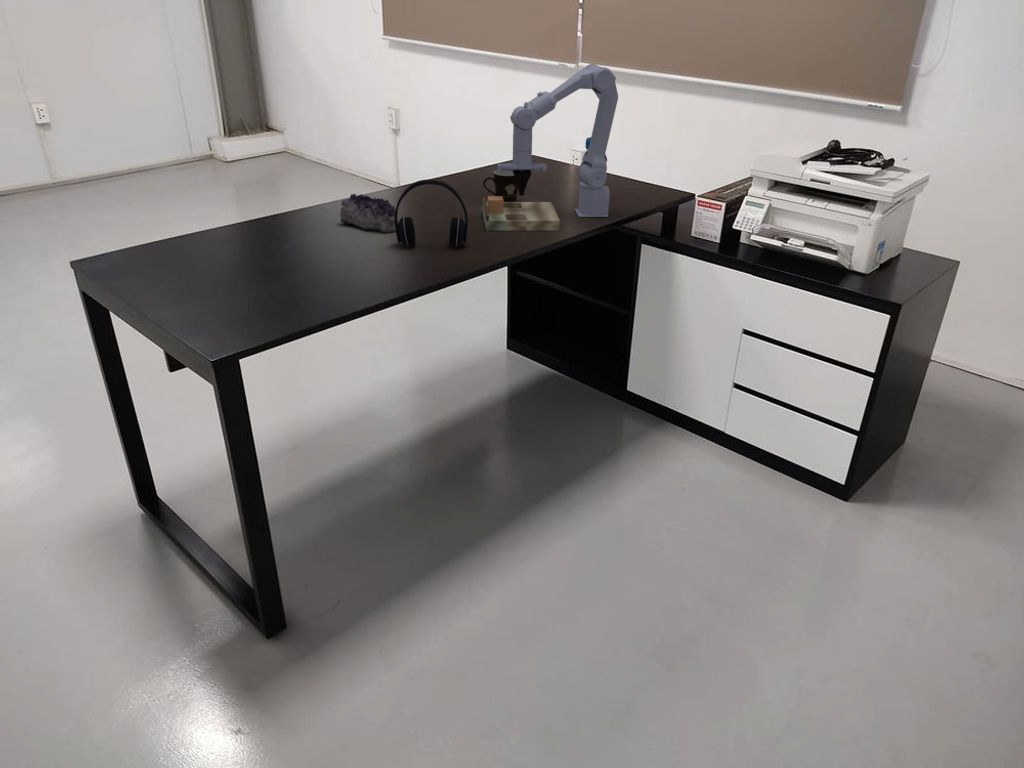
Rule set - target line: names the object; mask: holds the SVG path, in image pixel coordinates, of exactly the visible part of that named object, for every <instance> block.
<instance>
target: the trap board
mask: <svg viewBox="0 0 1024 768" xmlns="http://www.w3.org/2000/svg"><path fill="white" fill-rule="evenodd" d="M482 216H483V222H484V225H485V226H484V227H485V231H486V232H488V231H489V232H495V231H496V232H498V231H499V232H500V231H501V232H503V231H505V232H506V231H507V232H508V231H509V232H511V231H512V232H513V231H514V232H516V231H518V232H519V231H521V232H522V231H523V232H524V231H525V232H526V231H529V232H530V231H536V232H537V231H538V232H539V231H542V232H543V231H544V232H545V231H547V232H548V231H550V232H551V231H553V232H554V231H560V228H561V219H560V217H559V215H558V213H557V211H556V209H555V207H554V205H553V203H552V202H551V201H516V202H503V213H488V201H487V200H486V197H482Z"/></svg>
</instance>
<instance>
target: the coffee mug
mask: <svg viewBox="0 0 1024 768" xmlns="http://www.w3.org/2000/svg"><path fill="white" fill-rule="evenodd" d="M493 177H494V178H493ZM493 177H491V176H490V177H486V178H484V179H483V181H482V182H483V183H482V184H483V187H484V188H485V189H486V191H488V192H489V193H491V194H492V195H493V196H502V197H503V202H517V198H518V193H519V190H518V185H517V182H516V179H515V176H514V174H513V171H502V172H498V169H496V170H494V171H493ZM488 180H492V181H493V183H494V188H495V191H494V192H493V191H492V190H490V189H489V188H488V187H487V186H486V182H487V181H488Z"/></svg>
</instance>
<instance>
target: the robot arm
mask: <svg viewBox="0 0 1024 768" xmlns="http://www.w3.org/2000/svg"><path fill="white" fill-rule="evenodd" d="M616 79H617V77H616V75H615V74H614V73H613V72H612V70H611V69H610V68H608V67H606V66H605V67H603V66H600V65H598V64H596V63H590V64H587V65H586V66H585V67H583V68H581V69H579V70H578V71H577V72H576V73H575V74H573V75H572V76H570V77H569V78H568V79H567V80H565V81H564V82H563V83H561V84H560V85H558V86H557V87H556V88H554V89H553V90H551V92H549V91H539V92H537V93H536V96H535V97H534V98H532V99H531V100H529V101H528V102H527V101H525V102H524V103H523V105H522V106H517V107H515V108H514V109H513V111H512V112H511V115H510V116H509V119H510V122H511V123H512V125H513V129H512V130H513V131H512V132H513V134H512V162H507V163H506V162H505V163H497V170H498V172H502V171H513V174H514V176H515V179H516V182H517V185H518V196H523V197H524V196H525V191H526V187H527V184H528V183H529V180H530V178H531V177H532V172H547V164H546V163H539V162H533V161H532V157H533V156H532V155H533V153H532V152H533V128H534V126H535V125H536V123H537V121H538V120H540V119H542V118H543V117H545V116H546V115H548V114H549V113H551V112H552V111H554V110H555V108H556V106H557V103H558V102H560V101H561V100H563V99H565V98H567V97H568V96H570V95H571V94H573V93H575V92H576V91H579V90H581V89H582V90H592V91H593V93H594V94H595V95H596V97H597V98H598V104H597V109H596V115H595V118H594V122H593V128H592V131H591V132H592V133H591V136H590V137H591V140H590V145H589V149H588V153H587V154H586V155H585V156H584V155H583V156H584V157H583V156H582V159H583V161H582V160H581V163H580V165H579V166H578V168H577V176H578V178H579V180H580V183H579V191H578V206H577V207H578V208H574V211H575V213H576V214H577V216H578V217H579V218H608V217H609V207H610V196H611V195H610V188H609V186H608V185H606V182H607V178H608V176H607V171H606V167H607V166H608V165H607V162H606V160H605V154H606V152H607V147H608V143H609V139H610V134H611V130H612V126H613V123H614V117H615V113H616V109H617V105H618V101H619V93H618V89H617V84H616ZM607 168H608V167H607ZM604 184H605V186H603V185H604Z"/></svg>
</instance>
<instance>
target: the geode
mask: <svg viewBox="0 0 1024 768" xmlns="http://www.w3.org/2000/svg"><path fill="white" fill-rule="evenodd" d="M340 205H341V208H340V212H339V213H340V214H339V216H340V222H341V223H344V224H349V225H353V226H355V227H357V228H359V229H361V230H362V231H379V232H380V233H382V234H383V235H387V234H393V233H395V234H396V230H395V210H396V206H395V205H392V204H391V203H390V202H389V199H383V198H376V197H373V198H372V197H370V196H368V195H364V194H362V193H361V194H359V195H357V194H356V193H353V194H352V193H351V194H350V196H349V198H344V199H343V200H342V201H341V204H340Z"/></svg>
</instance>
